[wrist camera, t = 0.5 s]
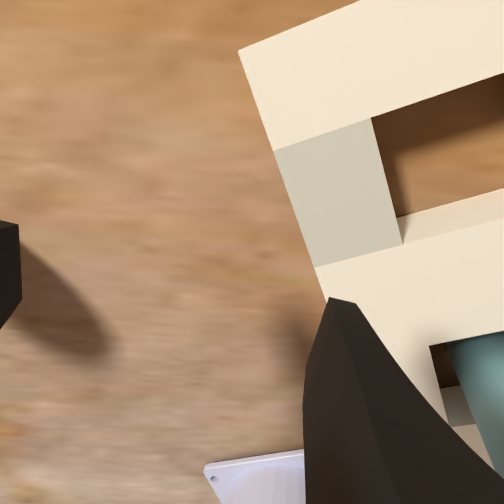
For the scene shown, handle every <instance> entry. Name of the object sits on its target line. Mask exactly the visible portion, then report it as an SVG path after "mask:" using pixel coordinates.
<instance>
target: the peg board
mask: <svg viewBox="0 0 504 504" xmlns="http://www.w3.org/2000/svg"><path fill="white" fill-rule="evenodd" d="M238 53H239V56H240V59H241V62H242V64H243V67H244V70H245V73H246V76H247V79H248V81H249V84H250V87H251V90H252V93H253V96H254V98H255V101H256V104H257V107H258V110H259V113H260V115H261V118H262V121H263V124H264V127H265V130H266V132H267V135H268V138H269V141H270V144H271V147H272V149H273V152H274V155H275V158H276V161H277V164H278V166H279V169H280V172H281V175H282V178H283V181H284V184H285V186H286V189H287V192H288V195H289V198H290V201H291V203H292V206H293V209H294V212H295V215H296V218H297V220H298V223H299V226H300V229H301V232H302V235H303V237H304V240H305V243H306V246H307V249H308V252H309V254H310V257H311V260H312V263H313V266H314V269H315V271H316V274H317V277H318V280H319V283H320V286H321V288H322V291H323V294H324V297H325V300H326V303H327V301H328V298H329V297H332V298H336V299H340V300H345V301H349V302H353V303H356V304H357V305H358V307H359V308H360V310H361V311H362V313H363V314H364V316H365V317H366V319H367V320H368V322H369V323H370V325H371V326H372V328H373V329H374V331H375V332H376V334H377V335H378V337H379V338H380V340H381V341H382V342H383V344H384V345H385V347H386V348H387V350H388V351H389V352H390V354H391V355H392V357H393V358H394V359H395V361H396V362H397V363H398V365H399V366H400V367H401V369H402V370H403V371H404V373H405V374H406V375H407V377H408V378H409V379H410V380H411V382H412V383H413V384H414V385H415V387H416V388H417V389H418V390H419V391H420V393H421V394H422V395H423V396H424V398H425V399H426V400H427V401H428V402H429V404H430V405H431V406H432V407H433V408H434V409H435V410H436V412H437V413H438V414H439V415H440V416H441V417H442V418H443V419H444V420H445V421H446V423H447V424H448V425H449V426H450V427H451V428H452V429H453V430H454V431H455V432H456V433H457V434H458V435H459V436H460V437H461V438H462V439H463V440H464V441H465V443H466V444H467V445H468V446H469V447H470V448H471V449H472V450H473V451H474V452H476V453H477V454H478V455H479V456H480V457H481V458H482V459H483V460H484V461H485V462H486V463H487V464H488V465H489V466H490V467H491V468H492V469H493V470H494V467H493V465H492V462H491V460H490V457H489V455H488V452H487V450H486V447H485V445H484V442H483V440H482V437H481V435H480V432H479V430H478V427H477V425H476V422H475V420H474V417H473V415H472V413H471V410H470V408H469V405H468V403H467V400H466V398H465V395H464V393H463V390H462V388H461V385H458V386H452V387H447V388H441V389H439V385H438V381H437V377H436V373H435V369H434V365H433V361H432V357H431V353H430V349H429V345H434V344H439V343H444V342H449V341H454V340H459V339H464V338H469V337H474V336H479V335H484V334H489V333H494V332H499V331H504V188H503V189H499V190H496V191H492V192H488V193H485V194H481V195H478V196H474V197H470V198H467V199H463V200H460V201H456V202H452V203H449V204H445V205H442V206H438V207H434V208H431V209H427V210H424V211H420V212H416V213H413V214H409V215H406V216H402V217H398V218H396V216H395V212H394V208H393V204H392V200H391V196H390V192H389V188H388V184H387V181H386V177H385V173H384V169H383V165H382V161H381V157H380V153H379V149H378V145H377V141H376V137H375V133H374V130H373V126H372V122H371V117H374V116H377V115H380V114H383V113H386V112H389V111H392V110H395V109H398V108H401V107H404V106H407V105H410V104H413V103H416V102H419V101H421V100H424V99H427V98H430V97H433V96H436V95H439V94H442V93H445V92H448V91H451V90H454V89H457V88H460V87H463V86H466V85H469V84H472V83H474V82H477V81H480V80H483V79H486V78H489V77H492V76H495V75H498V74H501V73H504V0H360V1H357V2H355V3H353V4H350V5H348V6H345V7H343V8H340V9H338V10H335V11H333V12H331V13H328V14H326V15H323V16H321V17H318V18H316V19H314V20H311V21H309V22H306V23H304V24H301V25H299V26H296V27H294V28H292V29H289V30H287V31H284V32H282V33H279V34H277V35H274V36H272V37H270V38H267V39H265V40H262V41H260V42H257V43H255V44H253V45H250V46H248V47H245V48H243V49H241V50H238Z"/></svg>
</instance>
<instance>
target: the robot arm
mask: <svg viewBox="0 0 504 504" xmlns="http://www.w3.org/2000/svg"><path fill="white" fill-rule="evenodd" d="M21 300H22V281H21V262H20V244H19V226H18V224H14V223H10V222H5V221H1V220H0V329H1V328H2V326H3V325H4V324H5V322H6V321H7V320H8V318H9V317H10V316H11V314H12V313H13V311H14V310H15V309H16V307H17V306H18V304H19V303H20V302H21ZM303 439H304V449H300V450H293V451H287V452H280V453H274V454H267V455H261V456H254V457H248V458H241V459H235V460H228V461H222V462H215V463H209V464H207V465H205V468H204V475H205V477H206V478H207V480H208V482H209V483H210V485H211V487H212V488H213V490H214V492H215V493H216V495H217V497H218V498H219V500H220V502H221V504H504V479H503V478H502V477H501V476H500V475H499V474H498V473H497V472H496V471H495V470H493V469H492V468H491V467H490V466H489V465H488V464H487V463H486V462H485V461H484V460H483V459H482V458H481V457H480V456H479V455H478V454H477V453H476V452H474V451H473V450H472V449H471V448H470V447H469V446H468V445H467V444H466V443H465V441H464V440H463V439H462V438H461V437H460V436H459V435H458V434H457V433H456V432H455V431H454V430H453V429H452V428H451V427H450V426H449V425H448V424H447V423H446V421H445V420H444V419H443V418H442V417H441V416H440V415H439V414H438V413H437V412H436V410H435V409H434V408H433V407H432V406H431V405H430V404H429V402H428V401H427V400H426V399H425V398H424V396H423V395H422V394H421V393H420V391H419V390H418V389H417V388H416V387H415V385H414V384H413V383H412V382H411V380H410V379H409V378H408V377H407V375H406V374H405V373H404V371H403V370H402V369H401V367H400V366H399V365H398V363H397V362H396V361H395V359H394V358H393V357H392V355H391V354H390V352H389V351H388V350H387V348H386V347H385V345H384V344H383V342H382V341H381V340H380V338H379V337H378V335H377V334H376V332H375V331H374V329H373V328H372V326H371V325H370V323H369V322H368V320H367V319H366V317H365V316H364V314H363V313H362V311H361V310H360V308H359V307H358V305H357V304H356V303H353V302H349V301H345V300H340V299H336V298H332V297H329V298H328V301H327V304H326V307H325V310H324V314H323V317H322V320H321V323H320V326H319V329H318V332H317V335H316V338H315V341H314V344H313V347H312V350H311V353H310V356H309V359H308V362H307V365H306V373H305V383H304V394H303Z"/></svg>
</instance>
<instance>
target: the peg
mask: <svg viewBox="0 0 504 504" xmlns="http://www.w3.org/2000/svg"><path fill="white" fill-rule="evenodd" d="M445 345H446V350H447V353H448V355H449V358H450V360H451V363H452V365H453V368H454V370H455V373H456V375H457V378H458V380H459V383H460V385H461V388H462V390H463V393H464V395H465V398H466V400H467V403H468V405H469V408H470V410H471V413H472V415H473V417H474V420H475V422H476V425H477V427H478V430H479V432H480V435H481V437H482V440H483V442H484V445H485V447H486V450H487V452H488V455H489V457H490V460H491V462H492V465H493V467H494V470H495V471H496V472H497V473H498V474H499V475H500V476H501V477H502V478H503V479H504V331H499V332H494V333H489V334H484V335H479V336H474V337H469V338H464V339H459V340H454V341H449V342H446V343H445Z"/></svg>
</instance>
